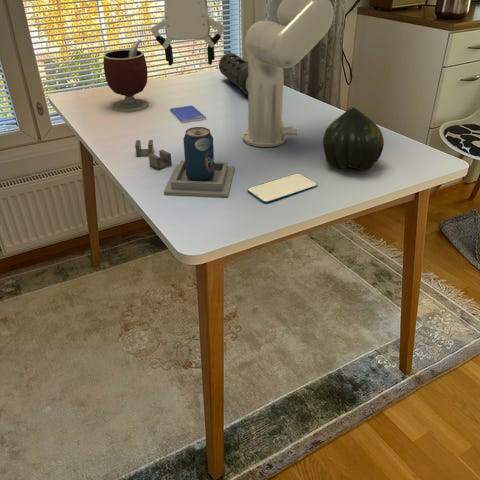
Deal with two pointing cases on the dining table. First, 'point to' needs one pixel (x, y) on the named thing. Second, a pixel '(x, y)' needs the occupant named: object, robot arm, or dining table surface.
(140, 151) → the clip
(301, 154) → the dining table surface
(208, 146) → the soda can
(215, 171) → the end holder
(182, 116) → the hard drive
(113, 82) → the mate gourd
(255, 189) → the smartphone
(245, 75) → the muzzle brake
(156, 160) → the clip
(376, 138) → the squash
